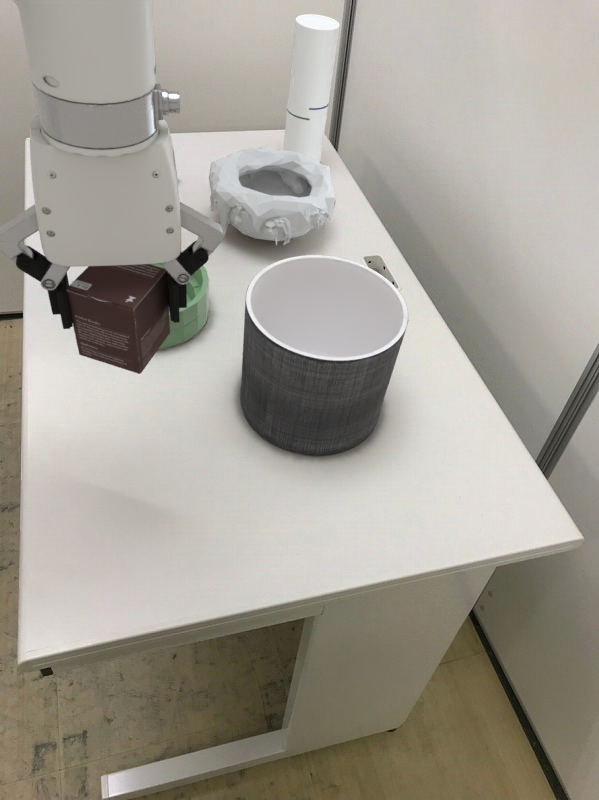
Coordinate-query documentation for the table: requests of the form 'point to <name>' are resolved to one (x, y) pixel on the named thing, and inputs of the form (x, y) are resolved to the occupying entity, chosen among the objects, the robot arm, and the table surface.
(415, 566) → the table surface
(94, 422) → the table surface
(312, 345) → the planter
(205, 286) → the green bowl
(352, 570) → the table surface
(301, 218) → the bowl
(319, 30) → the cylindrical container
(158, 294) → the box
